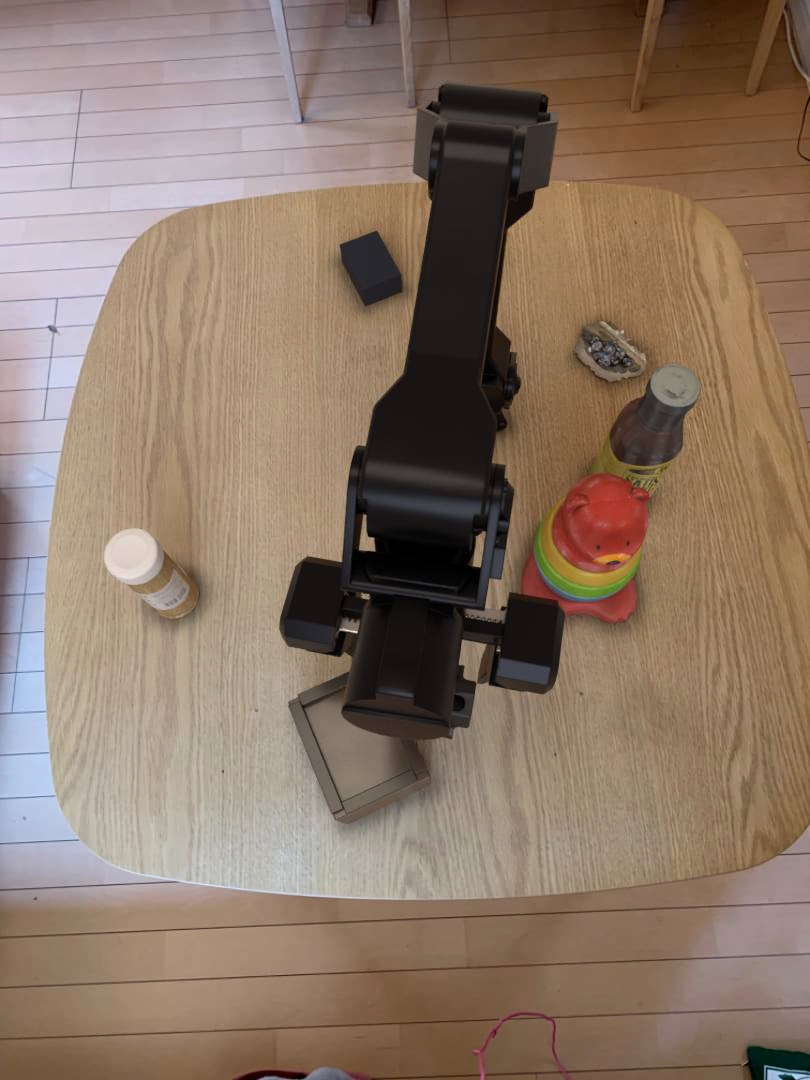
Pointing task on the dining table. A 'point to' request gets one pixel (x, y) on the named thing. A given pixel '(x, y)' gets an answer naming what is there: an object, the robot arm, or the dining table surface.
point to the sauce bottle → (650, 429)
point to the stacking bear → (590, 549)
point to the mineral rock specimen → (609, 352)
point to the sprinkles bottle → (151, 572)
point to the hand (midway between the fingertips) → (420, 666)
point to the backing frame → (354, 755)
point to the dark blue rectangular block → (371, 268)
